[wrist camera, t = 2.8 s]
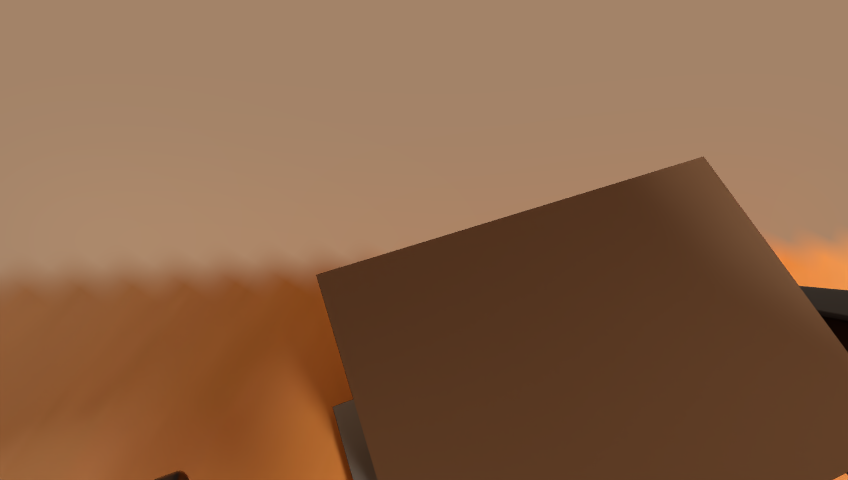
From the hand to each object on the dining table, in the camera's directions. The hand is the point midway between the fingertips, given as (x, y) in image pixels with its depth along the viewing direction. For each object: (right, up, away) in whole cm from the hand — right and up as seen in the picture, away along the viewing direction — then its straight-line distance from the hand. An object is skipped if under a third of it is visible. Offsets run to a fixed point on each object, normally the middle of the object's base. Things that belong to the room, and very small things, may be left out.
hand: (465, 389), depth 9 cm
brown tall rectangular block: (0, -4, +6) cm, 7 cm away
